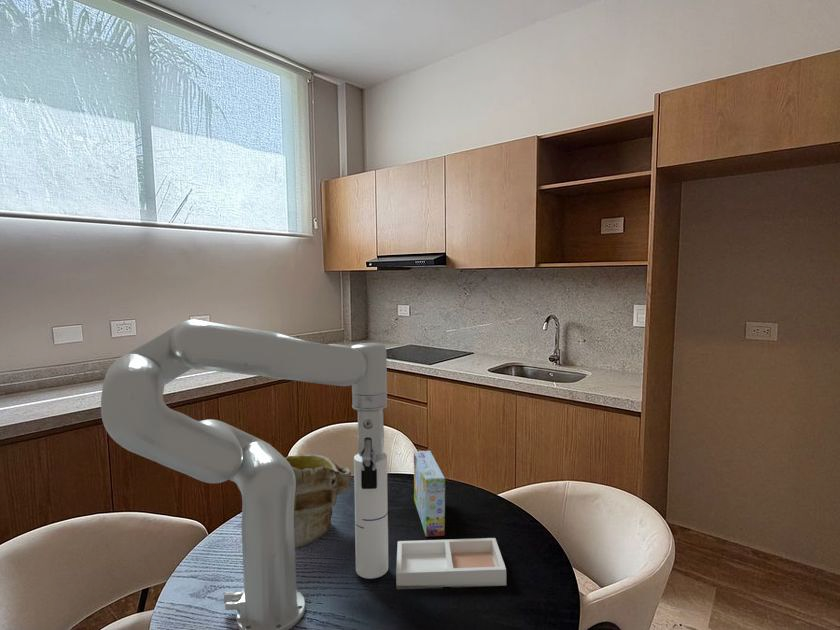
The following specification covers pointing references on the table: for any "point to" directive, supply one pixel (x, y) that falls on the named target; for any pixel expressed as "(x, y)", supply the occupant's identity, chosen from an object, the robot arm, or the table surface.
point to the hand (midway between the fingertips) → (370, 479)
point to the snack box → (429, 493)
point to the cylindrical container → (371, 521)
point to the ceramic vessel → (315, 494)
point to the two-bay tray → (449, 563)
